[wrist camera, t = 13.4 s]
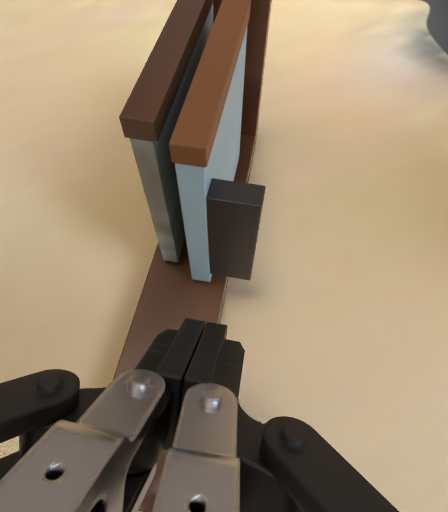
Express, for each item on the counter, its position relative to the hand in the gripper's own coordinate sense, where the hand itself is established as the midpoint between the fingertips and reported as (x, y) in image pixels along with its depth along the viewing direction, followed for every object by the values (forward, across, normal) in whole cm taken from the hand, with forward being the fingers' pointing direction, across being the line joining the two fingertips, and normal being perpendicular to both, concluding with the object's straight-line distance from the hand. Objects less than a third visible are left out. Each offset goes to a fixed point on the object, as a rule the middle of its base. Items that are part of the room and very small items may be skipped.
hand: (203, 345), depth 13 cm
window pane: (+14, +1, -3) cm, 14 cm away
